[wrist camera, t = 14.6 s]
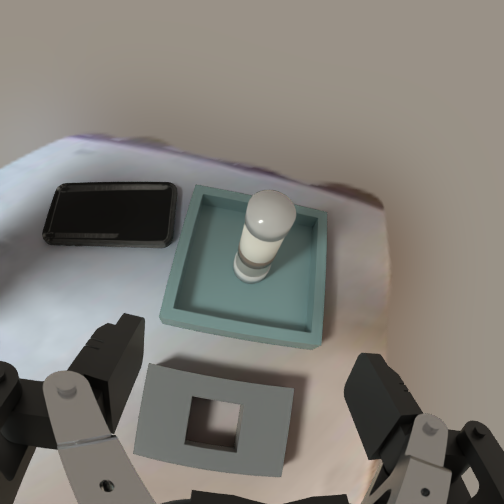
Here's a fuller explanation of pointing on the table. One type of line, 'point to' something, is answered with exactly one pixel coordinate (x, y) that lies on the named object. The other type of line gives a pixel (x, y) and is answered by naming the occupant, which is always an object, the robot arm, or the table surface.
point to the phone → (112, 214)
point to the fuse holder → (206, 455)
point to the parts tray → (237, 292)
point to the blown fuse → (262, 234)
